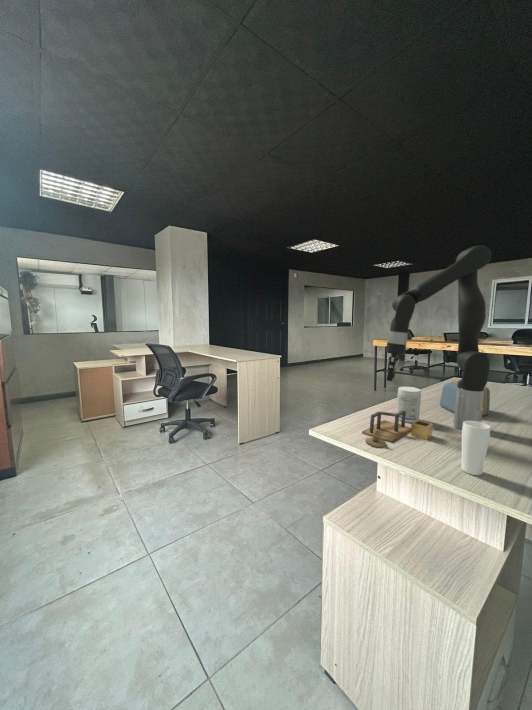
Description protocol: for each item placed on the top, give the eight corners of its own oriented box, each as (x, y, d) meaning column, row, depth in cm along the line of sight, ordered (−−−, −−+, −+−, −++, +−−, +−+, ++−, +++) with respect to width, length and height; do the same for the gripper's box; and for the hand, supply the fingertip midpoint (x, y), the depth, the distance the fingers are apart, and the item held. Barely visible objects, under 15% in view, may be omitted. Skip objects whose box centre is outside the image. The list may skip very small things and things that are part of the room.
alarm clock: (490, 416, 137) (494, 384, 135) (457, 416, 138) (460, 384, 136) (467, 406, 154) (470, 377, 152) (437, 405, 154) (440, 377, 152)
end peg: (388, 443, 105) (389, 431, 105) (380, 449, 100) (381, 436, 100) (370, 437, 110) (371, 425, 110) (361, 442, 105) (362, 430, 105)
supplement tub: (401, 414, 138) (404, 385, 136) (422, 420, 131) (425, 389, 129) (392, 419, 132) (394, 388, 130) (413, 425, 125) (415, 392, 123)
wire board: (411, 429, 119) (413, 411, 118) (391, 442, 106) (393, 422, 105) (383, 421, 128) (385, 404, 127) (361, 433, 114) (363, 414, 113)
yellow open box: (432, 435, 113) (433, 423, 112) (427, 440, 109) (428, 427, 108) (416, 431, 117) (417, 419, 117) (410, 435, 113) (411, 423, 113)
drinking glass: (480, 468, 88) (485, 422, 87) (489, 479, 82) (495, 430, 80) (455, 464, 91) (459, 419, 89) (461, 475, 84) (467, 426, 82)
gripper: (405, 344, 113) (398, 383, 115) (407, 343, 126) (401, 378, 128) (385, 341, 117) (379, 380, 119) (389, 341, 129) (383, 375, 131)
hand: (390, 379), depth 123 cm, fingers open, 8 cm apart
